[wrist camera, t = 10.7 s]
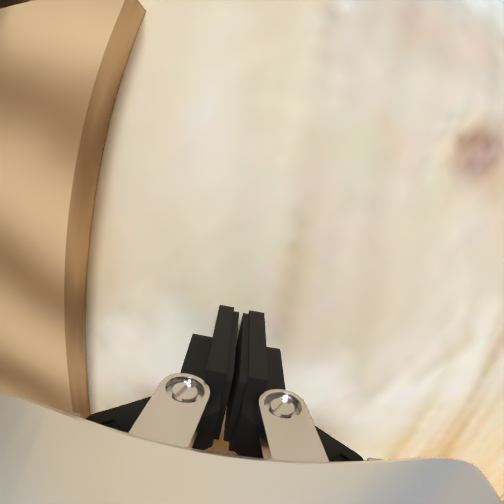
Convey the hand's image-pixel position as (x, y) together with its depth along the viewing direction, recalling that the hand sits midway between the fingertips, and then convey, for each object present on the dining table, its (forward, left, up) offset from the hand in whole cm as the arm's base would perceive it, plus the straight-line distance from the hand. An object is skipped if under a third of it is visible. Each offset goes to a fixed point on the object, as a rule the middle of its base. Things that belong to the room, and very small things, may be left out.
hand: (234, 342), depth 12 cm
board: (+1, +15, -1) cm, 15 cm away
